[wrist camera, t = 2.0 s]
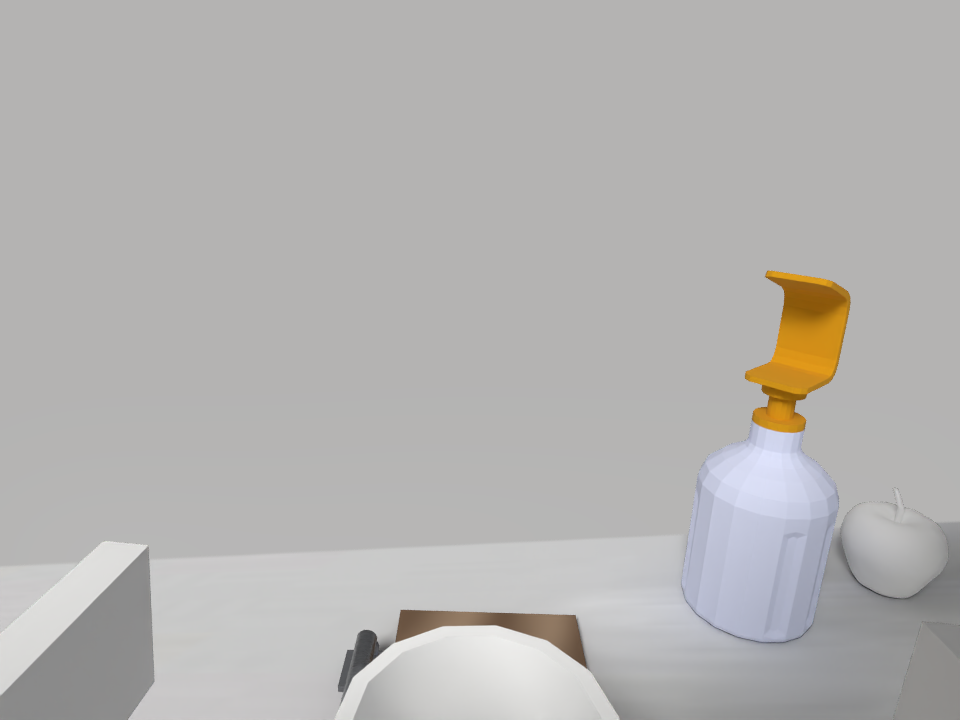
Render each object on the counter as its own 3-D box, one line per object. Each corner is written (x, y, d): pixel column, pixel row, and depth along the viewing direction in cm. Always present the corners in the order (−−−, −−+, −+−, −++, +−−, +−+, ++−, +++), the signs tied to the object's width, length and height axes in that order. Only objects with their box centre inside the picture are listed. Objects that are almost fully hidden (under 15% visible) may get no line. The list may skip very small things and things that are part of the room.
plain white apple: (859, 547, 57) (880, 463, 54) (952, 593, 51) (979, 501, 49) (813, 572, 53) (833, 483, 50) (908, 625, 47) (936, 527, 45)
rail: (551, 661, 42) (554, 619, 42) (578, 848, 31) (584, 796, 30) (347, 654, 42) (346, 612, 41) (299, 841, 31) (296, 788, 30)
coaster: (574, 624, 46) (575, 615, 46) (607, 781, 34) (608, 769, 34) (400, 619, 46) (400, 609, 45) (375, 775, 34) (375, 763, 34)
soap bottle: (657, 598, 49) (704, 267, 42) (719, 553, 55) (769, 257, 48) (776, 666, 43) (855, 292, 36) (831, 608, 49) (909, 277, 42)
